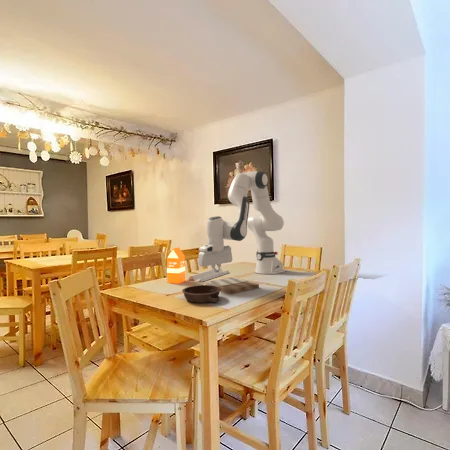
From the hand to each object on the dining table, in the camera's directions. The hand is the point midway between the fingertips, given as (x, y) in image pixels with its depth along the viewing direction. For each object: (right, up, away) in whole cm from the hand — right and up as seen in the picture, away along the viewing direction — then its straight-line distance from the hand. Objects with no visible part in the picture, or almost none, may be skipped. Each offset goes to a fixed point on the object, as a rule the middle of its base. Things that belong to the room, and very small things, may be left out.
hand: (216, 272), depth 159 cm
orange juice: (-24, -8, +17) cm, 30 cm away
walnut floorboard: (+12, -8, -5) cm, 15 cm away
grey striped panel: (+6, -8, +4) cm, 10 cm away
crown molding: (-5, -8, +31) cm, 32 cm away
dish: (-6, -9, -22) cm, 25 cm away
